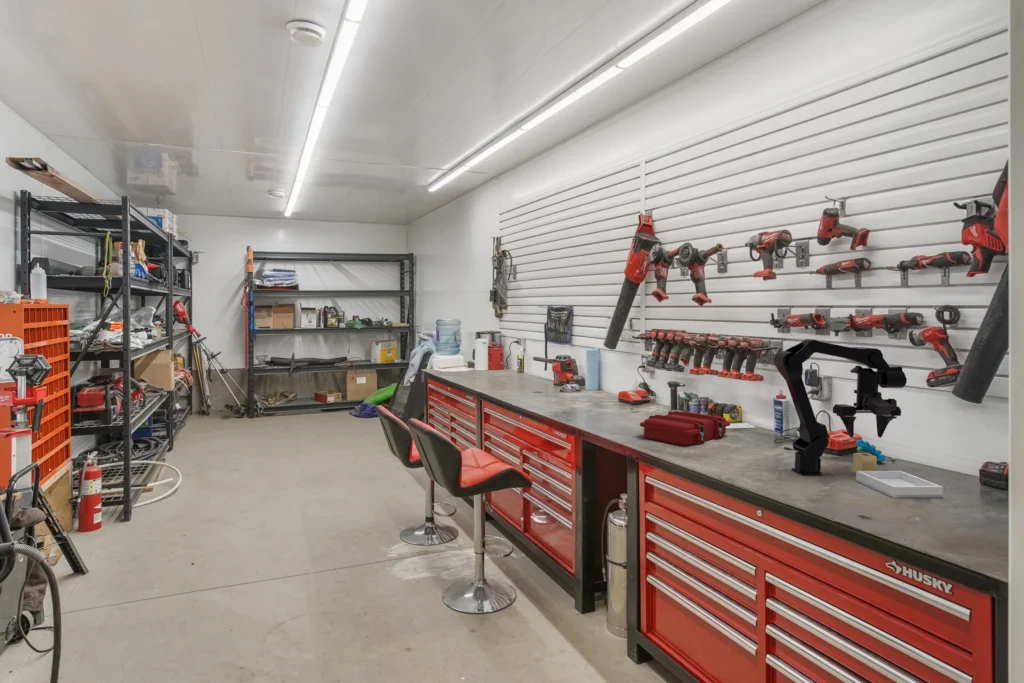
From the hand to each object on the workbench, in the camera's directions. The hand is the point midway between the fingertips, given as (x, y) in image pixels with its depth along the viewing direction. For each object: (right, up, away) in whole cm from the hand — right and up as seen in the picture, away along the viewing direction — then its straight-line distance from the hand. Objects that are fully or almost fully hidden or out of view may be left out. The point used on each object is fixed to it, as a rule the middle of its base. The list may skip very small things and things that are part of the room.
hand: (865, 437), depth 182 cm
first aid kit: (-41, -9, +52) cm, 67 cm away
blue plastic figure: (+11, -11, +16) cm, 22 cm away
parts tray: (0, -12, -15) cm, 20 cm away
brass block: (0, -12, +1) cm, 12 cm away
